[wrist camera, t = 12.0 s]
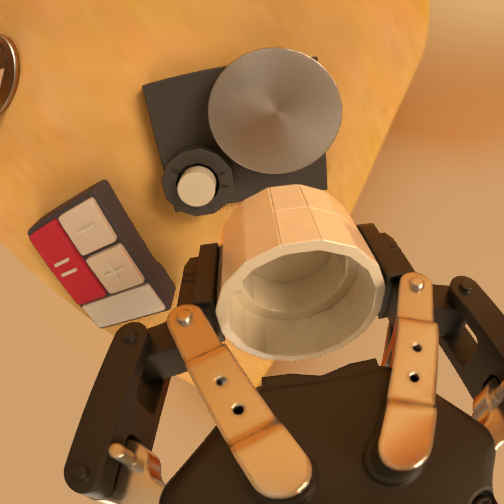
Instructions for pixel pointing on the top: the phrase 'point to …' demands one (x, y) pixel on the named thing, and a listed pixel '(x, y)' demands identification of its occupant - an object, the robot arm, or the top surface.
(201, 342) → the robot arm
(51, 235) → the calculator
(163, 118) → the grey knob plate
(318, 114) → the pan
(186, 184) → the button
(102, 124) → the top surface
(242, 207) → the bowl
